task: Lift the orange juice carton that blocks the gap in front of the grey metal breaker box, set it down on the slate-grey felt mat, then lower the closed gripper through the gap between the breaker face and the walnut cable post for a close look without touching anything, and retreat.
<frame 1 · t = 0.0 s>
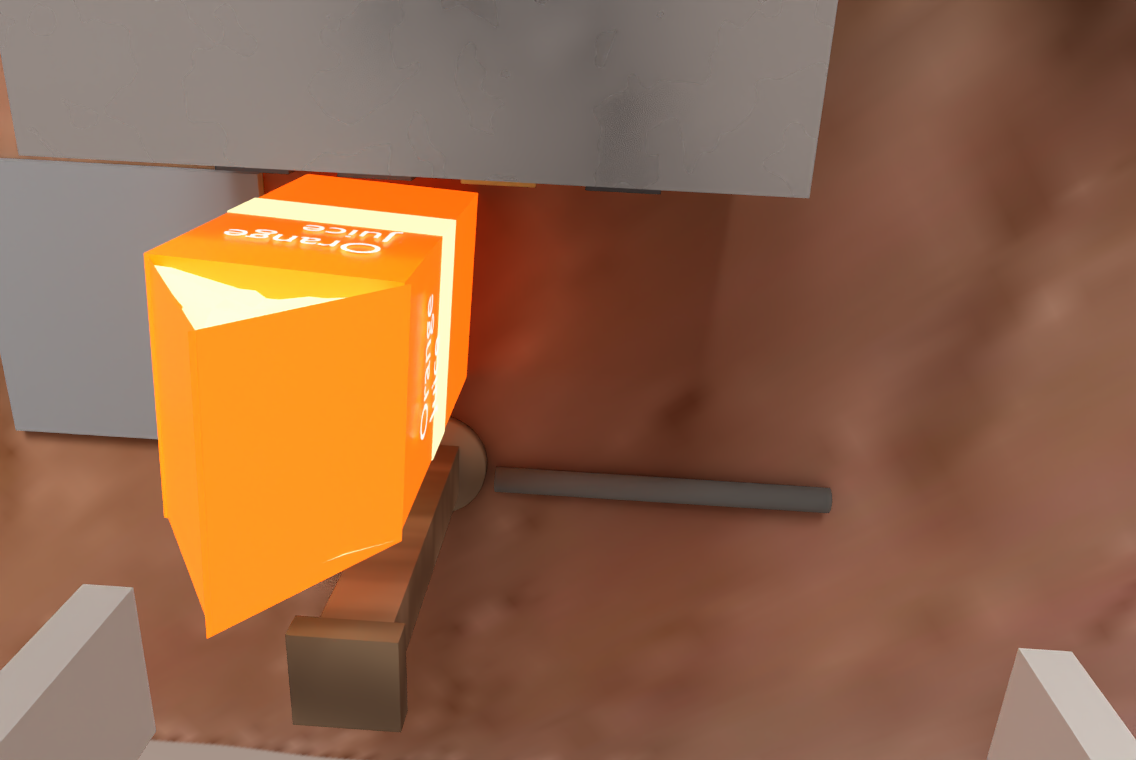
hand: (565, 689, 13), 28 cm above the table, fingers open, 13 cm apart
felt mat: (135, 306, 41), on the table
cable post: (436, 460, 44), on the table
breaker box: (480, 48, 37), on the table
dark gray rod: (660, 483, 44), on the table
orange juice: (391, 278, 41), on the table
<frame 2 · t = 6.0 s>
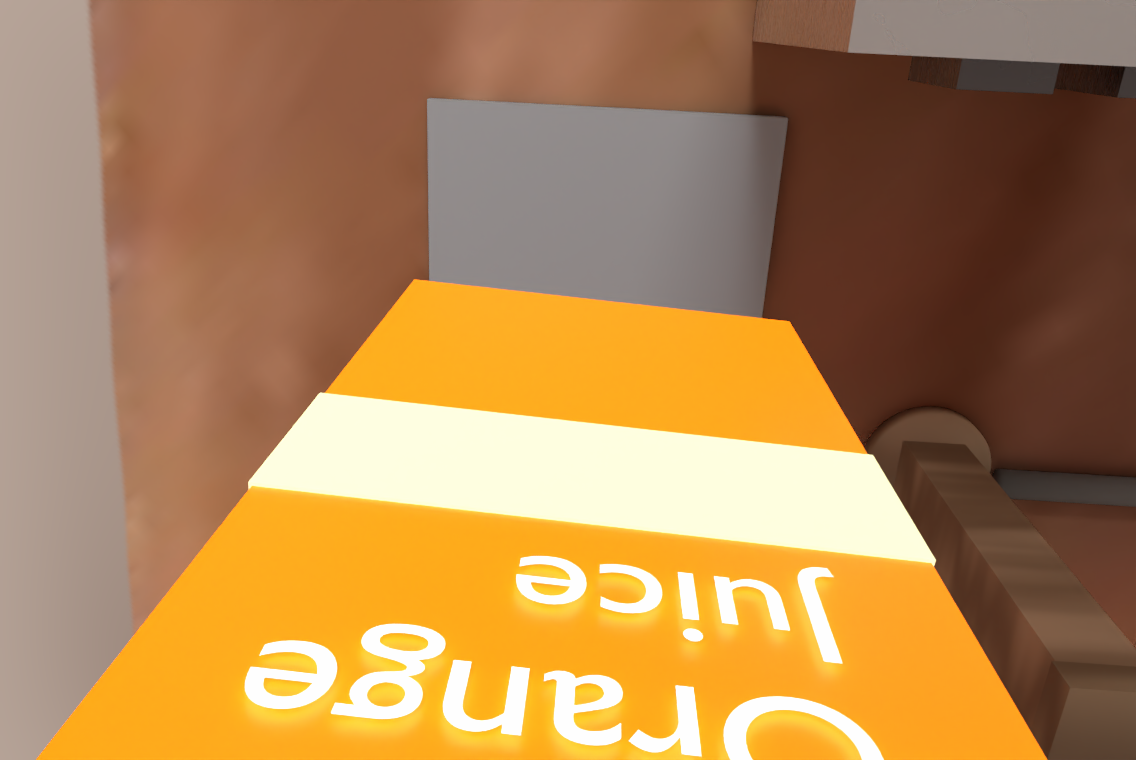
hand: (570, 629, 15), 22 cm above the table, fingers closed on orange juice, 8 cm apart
felt mat: (596, 279, 35), on the table
cable post: (921, 461, 37), on the table
orange juice: (580, 487, 19), point 17 cm above the table, touching gripper
when the fingers open (6 cm above the table, at t = 9.1 s): orange juice stays where it is, resting on felt mat.
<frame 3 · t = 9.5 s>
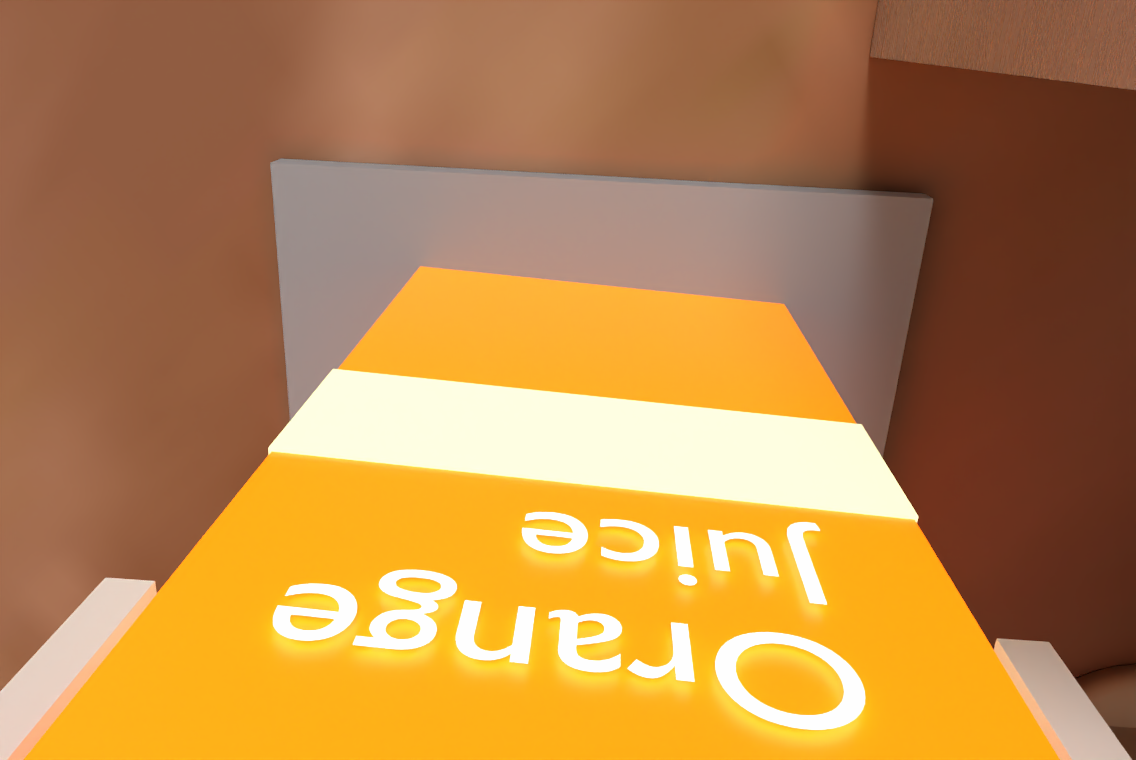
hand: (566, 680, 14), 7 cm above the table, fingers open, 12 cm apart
felt mat: (582, 463, 20), on the table
cable post: (1119, 744, 23), on the table
orange juice: (582, 468, 20), resting on felt mat
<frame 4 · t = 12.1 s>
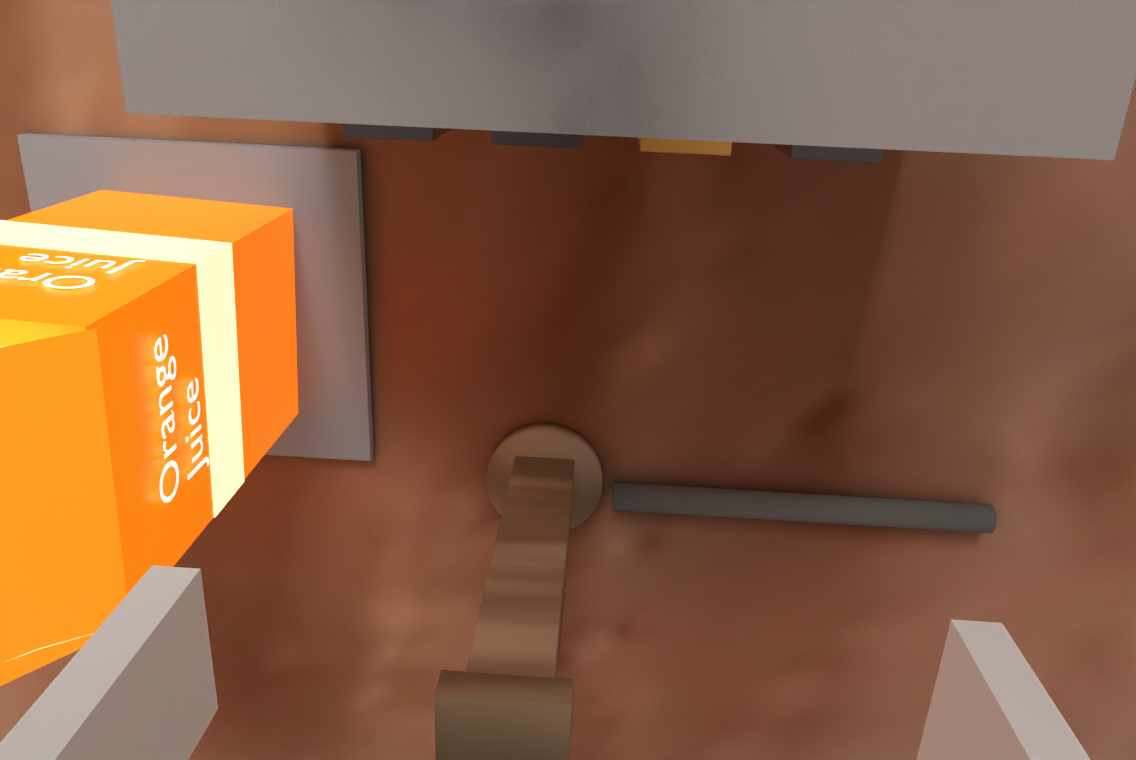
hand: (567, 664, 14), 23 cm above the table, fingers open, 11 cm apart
felt mat: (210, 303, 37), on the table
cable post: (545, 475, 39), on the table
breaker box: (618, 3, 32), on the table
dark gray rod: (797, 500, 39), on the table
orange juice: (207, 304, 36), resting on felt mat
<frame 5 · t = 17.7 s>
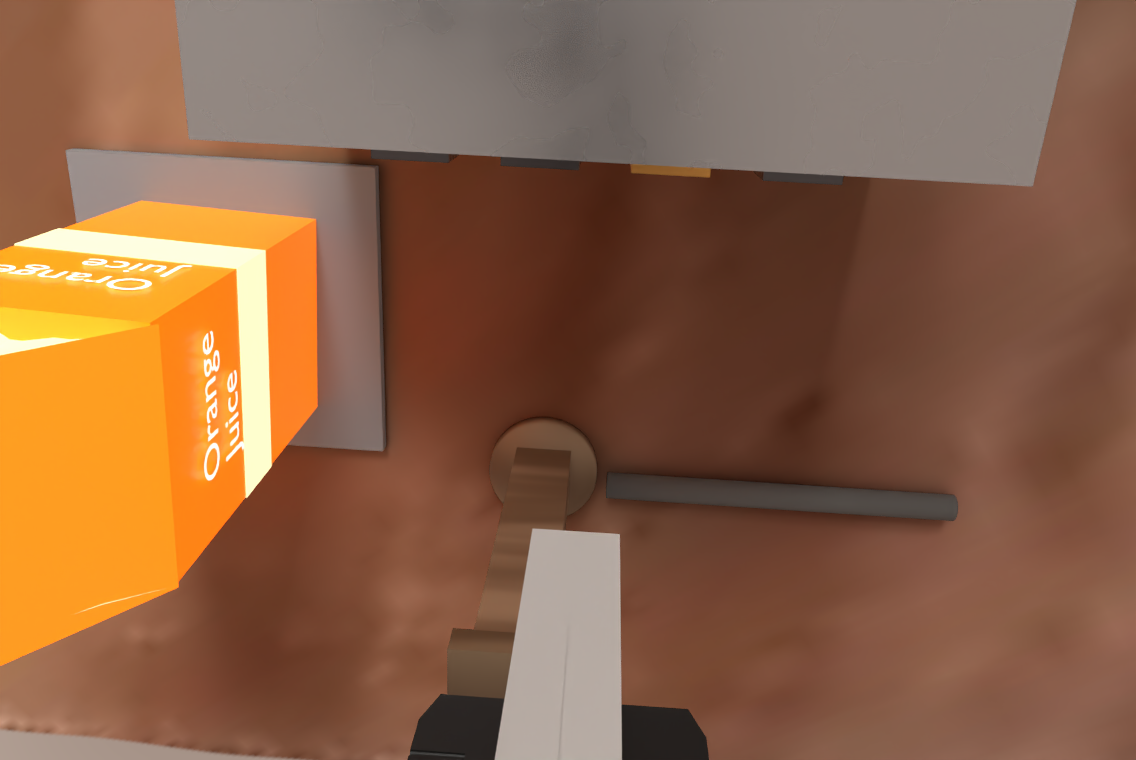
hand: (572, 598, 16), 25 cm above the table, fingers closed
felt mat: (238, 305, 40), on the table
cable post: (544, 465, 42), on the table
breaker box: (613, 37, 35), on the table
dark gray rod: (776, 490, 42), on the table
orange juice: (235, 306, 40), resting on felt mat
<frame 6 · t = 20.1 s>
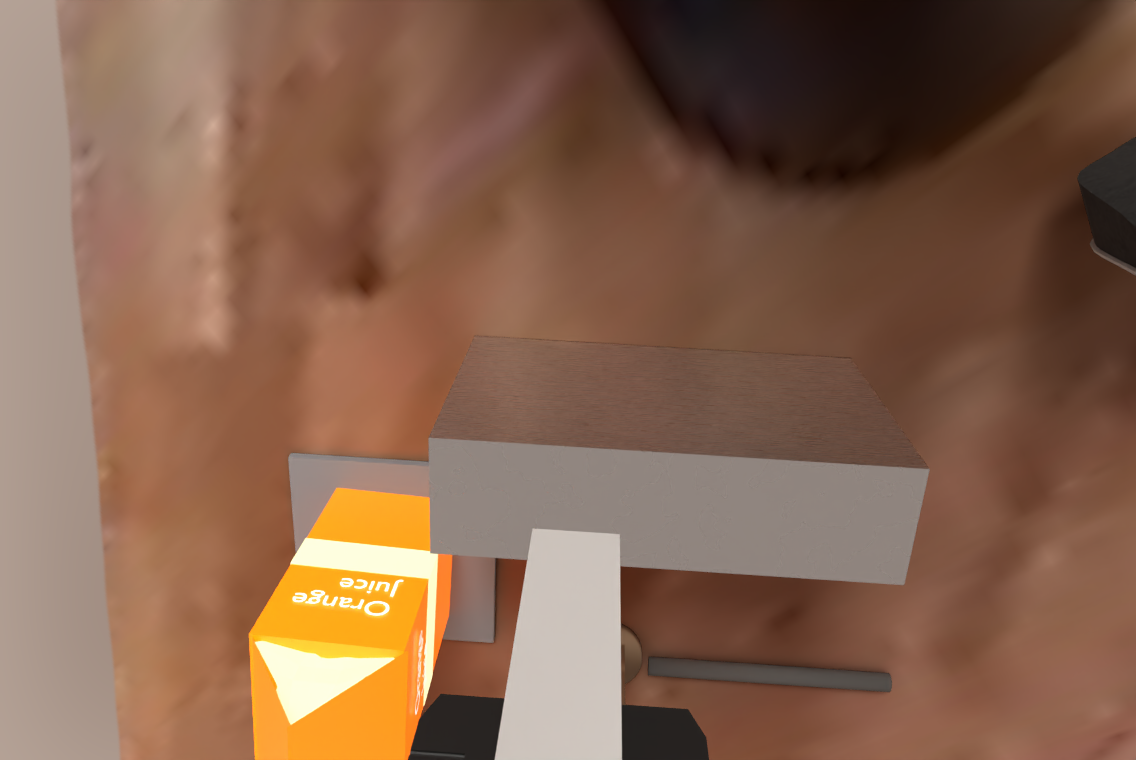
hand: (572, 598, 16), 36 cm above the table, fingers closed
felt mat: (396, 548, 58), on the table
cable post: (604, 650, 60), on the table
breaker box: (657, 394, 53), on the table
dark gray rod: (766, 668, 60), on the table
orange juice: (395, 551, 58), resting on felt mat
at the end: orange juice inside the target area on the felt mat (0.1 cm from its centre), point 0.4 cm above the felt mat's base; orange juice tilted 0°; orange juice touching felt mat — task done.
